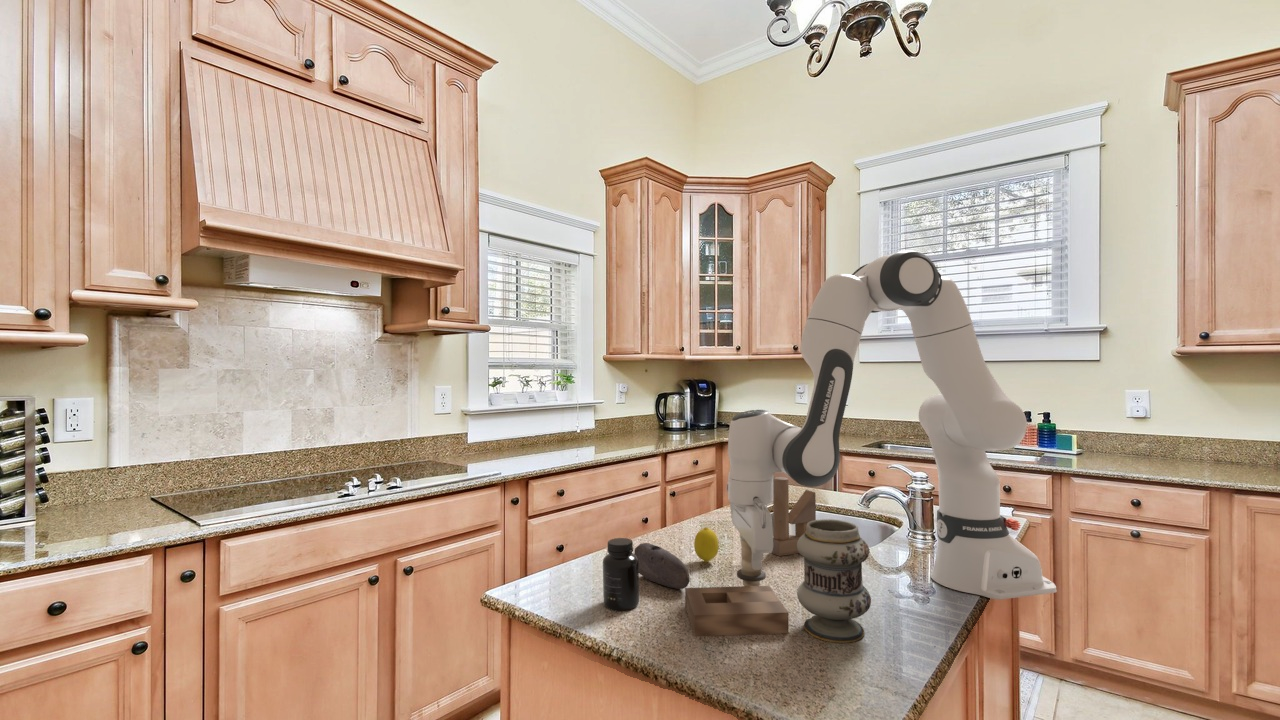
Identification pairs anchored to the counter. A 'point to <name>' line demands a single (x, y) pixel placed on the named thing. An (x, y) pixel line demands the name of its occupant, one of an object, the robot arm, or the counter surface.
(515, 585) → the counter surface
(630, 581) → the supplement bottle
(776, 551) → the wooden block structure
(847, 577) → the apothecary jar
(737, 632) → the walnut board
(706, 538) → the lemon
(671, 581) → the perforated stone tool
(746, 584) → the maple peg
